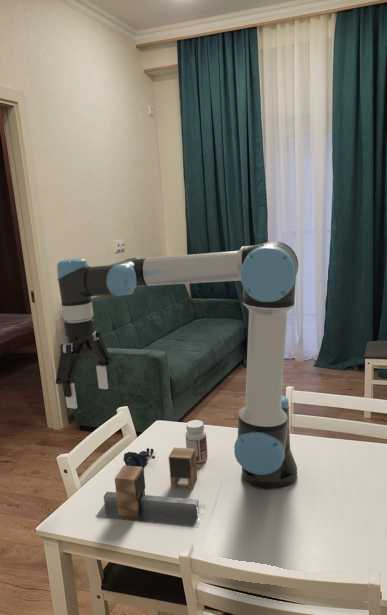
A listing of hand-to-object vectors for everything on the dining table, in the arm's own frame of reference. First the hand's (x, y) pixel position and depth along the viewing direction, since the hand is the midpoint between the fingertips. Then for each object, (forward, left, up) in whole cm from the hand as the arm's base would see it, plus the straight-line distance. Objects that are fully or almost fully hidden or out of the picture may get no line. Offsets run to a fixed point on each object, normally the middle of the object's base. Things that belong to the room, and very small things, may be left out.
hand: (88, 397), depth 128 cm
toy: (-7, -13, -27) cm, 31 cm away
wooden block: (-13, +9, -25) cm, 30 cm away
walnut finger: (-23, -4, -26) cm, 35 cm away
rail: (-18, +9, -26) cm, 33 cm away
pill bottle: (-23, -19, -27) cm, 40 cm away
